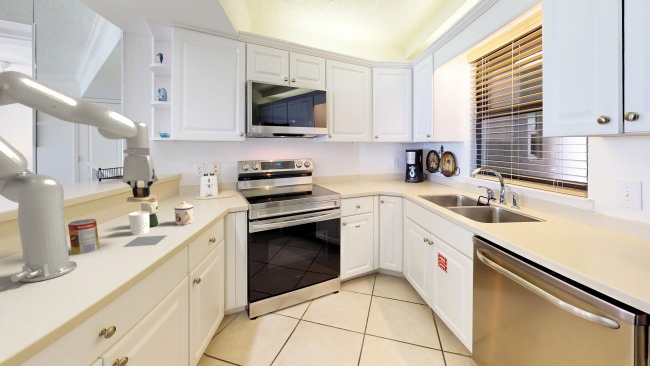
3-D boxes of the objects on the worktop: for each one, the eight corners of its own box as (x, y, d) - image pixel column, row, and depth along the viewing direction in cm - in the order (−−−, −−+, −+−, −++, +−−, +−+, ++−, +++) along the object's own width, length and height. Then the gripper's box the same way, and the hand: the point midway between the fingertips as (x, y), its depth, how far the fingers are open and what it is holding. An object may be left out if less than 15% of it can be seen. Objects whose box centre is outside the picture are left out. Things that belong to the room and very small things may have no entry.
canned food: (91, 246, 103) (88, 218, 102) (104, 249, 101) (100, 219, 99) (67, 253, 96) (63, 223, 95) (79, 256, 93) (75, 225, 92)
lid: (149, 201, 102) (149, 188, 102) (121, 202, 100) (120, 189, 100) (160, 197, 112) (159, 186, 112) (134, 198, 110) (133, 186, 109)
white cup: (154, 231, 123) (153, 211, 122) (141, 236, 116) (139, 215, 114) (140, 230, 124) (138, 211, 123) (125, 236, 116) (123, 215, 115)
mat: (155, 246, 104) (155, 244, 104) (122, 248, 102) (122, 246, 102) (167, 236, 116) (167, 235, 116) (138, 238, 113) (137, 237, 113)
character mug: (161, 226, 131) (159, 202, 129) (144, 229, 126) (142, 204, 124) (157, 222, 139) (155, 199, 137) (141, 225, 134) (139, 201, 132)
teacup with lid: (172, 222, 138) (171, 201, 137) (190, 219, 145) (189, 199, 143) (180, 227, 130) (178, 205, 129) (198, 223, 137) (197, 202, 135)
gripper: (110, 152, 99) (113, 198, 101) (156, 153, 102) (159, 197, 104) (121, 152, 106) (124, 196, 108) (164, 153, 109) (166, 195, 111)
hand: (141, 196), depth 106 cm, fingers closed on lid, 3 cm apart
